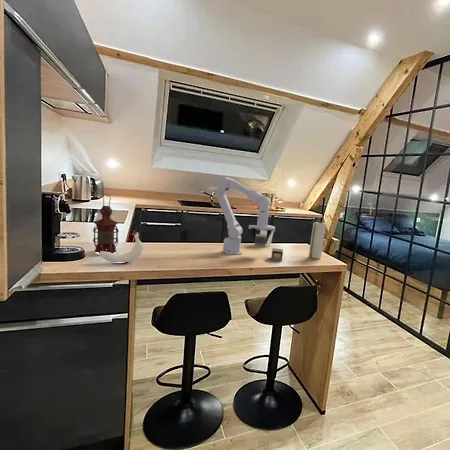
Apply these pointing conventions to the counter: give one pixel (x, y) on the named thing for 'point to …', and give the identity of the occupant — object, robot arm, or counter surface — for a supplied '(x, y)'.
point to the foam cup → (263, 232)
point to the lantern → (106, 231)
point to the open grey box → (277, 251)
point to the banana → (125, 257)
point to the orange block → (277, 254)
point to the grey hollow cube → (260, 240)
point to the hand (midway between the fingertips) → (260, 242)
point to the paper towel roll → (317, 240)
